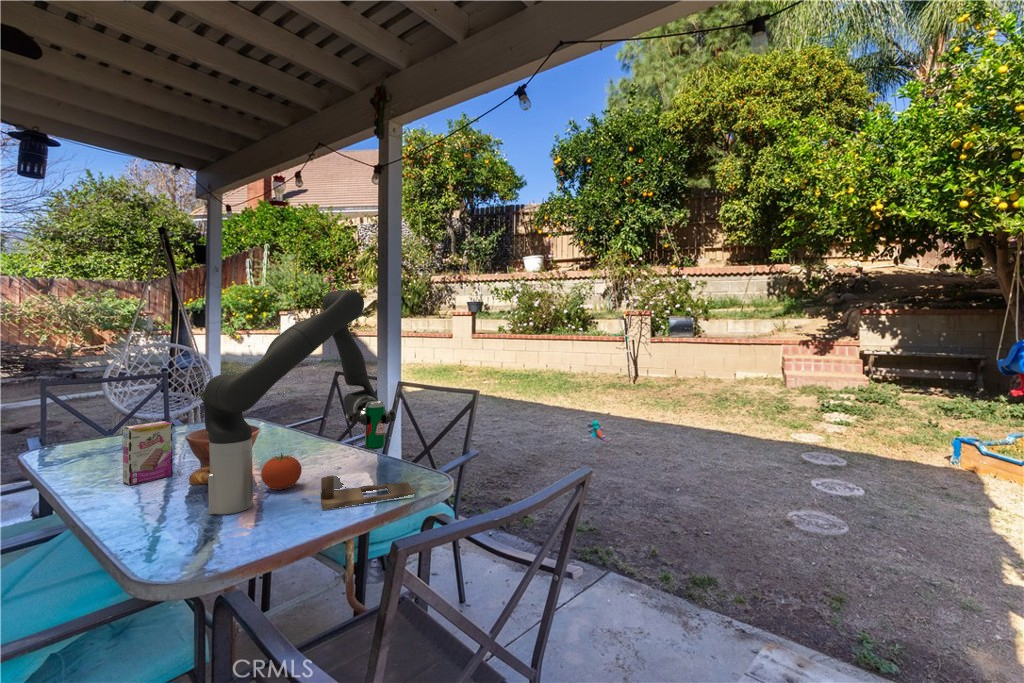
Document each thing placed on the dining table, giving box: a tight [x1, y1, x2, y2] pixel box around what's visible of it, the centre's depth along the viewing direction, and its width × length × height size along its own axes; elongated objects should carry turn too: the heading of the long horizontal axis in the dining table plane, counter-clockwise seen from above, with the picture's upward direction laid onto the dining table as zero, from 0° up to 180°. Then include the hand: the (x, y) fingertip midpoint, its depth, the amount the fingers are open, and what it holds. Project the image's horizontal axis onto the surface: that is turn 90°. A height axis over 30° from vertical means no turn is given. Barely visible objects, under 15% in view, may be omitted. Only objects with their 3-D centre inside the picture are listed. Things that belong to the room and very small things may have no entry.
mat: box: [326, 474, 346, 489], centre depth 143 cm, size 12×13×1 cm
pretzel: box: [188, 466, 210, 486], centre depth 145 cm, size 12×11×4 cm
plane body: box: [319, 476, 416, 511], centre depth 130 cm, size 23×9×6 cm, turn 114°
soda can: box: [364, 400, 386, 450], centre depth 130 cm, size 5×5×12 cm
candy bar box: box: [121, 420, 173, 486], centre depth 144 cm, size 11×5×16 cm, turn 149°
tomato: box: [260, 452, 303, 491], centre depth 137 cm, size 10×10×10 cm
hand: (376, 420), depth 127 cm, fingers closed on soda can, 5 cm apart
